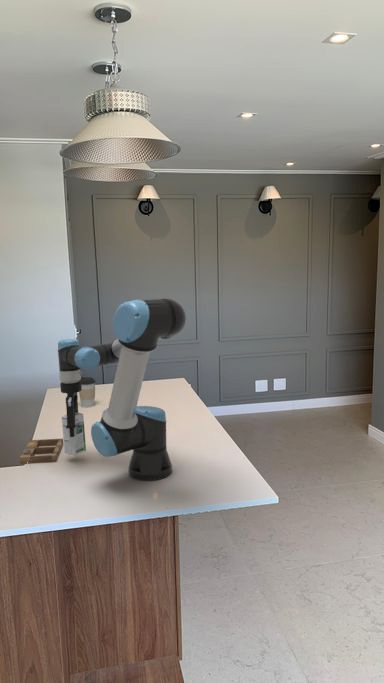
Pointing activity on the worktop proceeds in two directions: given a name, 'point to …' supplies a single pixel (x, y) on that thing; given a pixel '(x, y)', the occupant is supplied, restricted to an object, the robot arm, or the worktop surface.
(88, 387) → the coffee cup
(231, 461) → the worktop surface
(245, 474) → the worktop surface
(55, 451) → the socket board
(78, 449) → the syrup box
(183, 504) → the worktop surface
